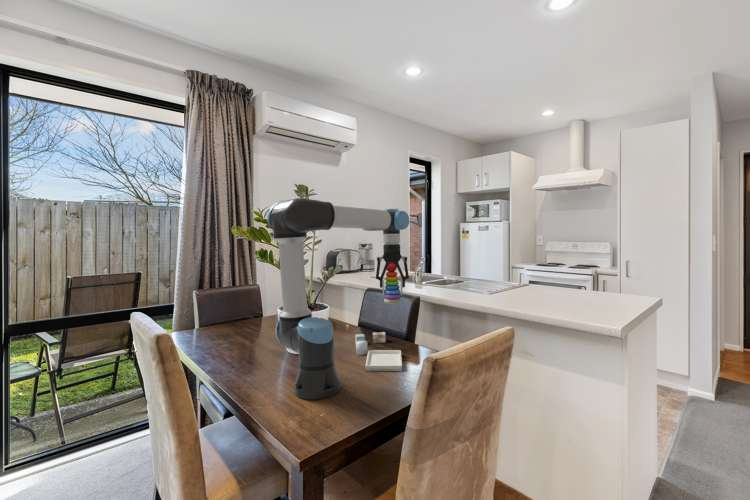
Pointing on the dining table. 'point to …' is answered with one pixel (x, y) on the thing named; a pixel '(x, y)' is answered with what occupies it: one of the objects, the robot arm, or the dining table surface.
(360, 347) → the light grey cube
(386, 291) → the stacking toy
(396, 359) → the cream tray
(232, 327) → the dining table surface
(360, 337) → the teal cube
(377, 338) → the birch brick
